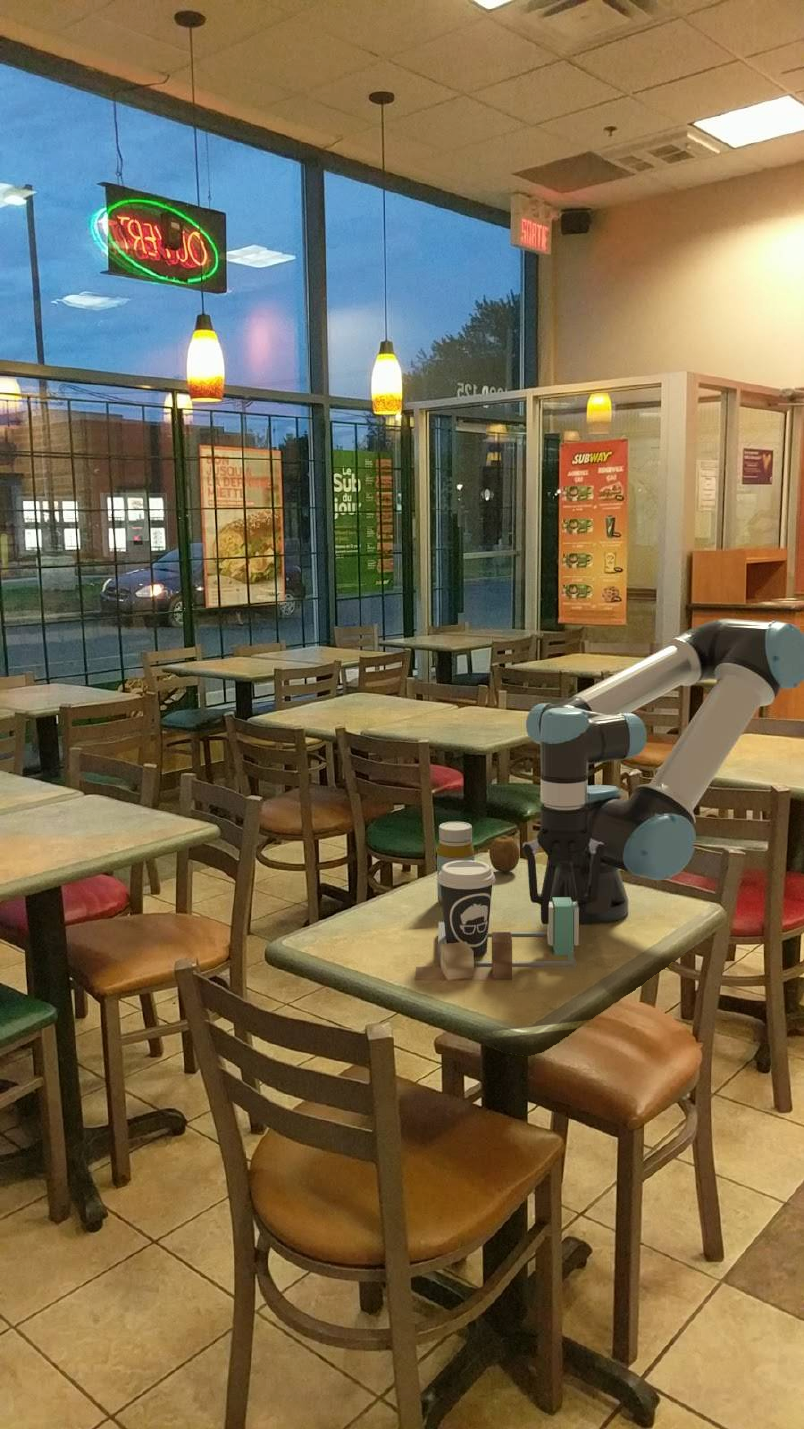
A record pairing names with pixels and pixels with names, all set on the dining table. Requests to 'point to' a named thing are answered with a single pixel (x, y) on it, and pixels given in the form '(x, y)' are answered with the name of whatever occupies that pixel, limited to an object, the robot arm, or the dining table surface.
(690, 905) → the dining table surface
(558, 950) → the grey rectangular frame
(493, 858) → the fruit
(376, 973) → the dining table surface
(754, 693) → the robot arm
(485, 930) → the coffee cup
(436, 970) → the wooden l-shaped block
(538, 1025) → the dining table surface
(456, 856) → the bottle
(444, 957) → the maple block
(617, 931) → the dining table surface
